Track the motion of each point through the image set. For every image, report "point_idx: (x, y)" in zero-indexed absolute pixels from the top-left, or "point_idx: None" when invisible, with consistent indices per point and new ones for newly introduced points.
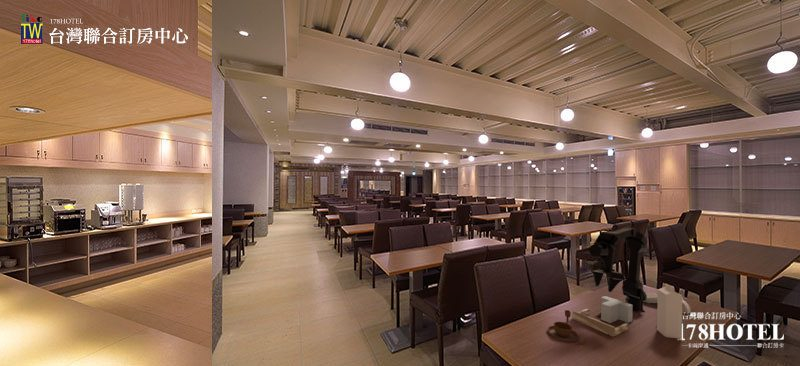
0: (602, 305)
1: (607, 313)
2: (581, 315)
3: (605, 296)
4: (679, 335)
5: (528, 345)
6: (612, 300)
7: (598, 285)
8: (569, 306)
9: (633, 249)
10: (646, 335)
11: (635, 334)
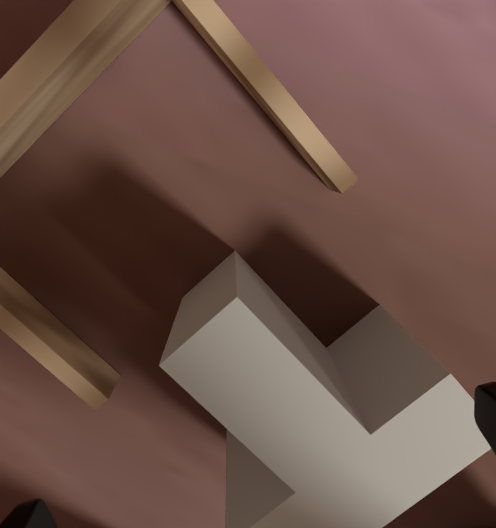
0: (228, 299)
1: (191, 308)
2: (77, 3)
3: None
4: None
5: None
6: (370, 460)
7: (486, 436)
8: (479, 47)
9: None
10: (49, 460)
11: (36, 397)
